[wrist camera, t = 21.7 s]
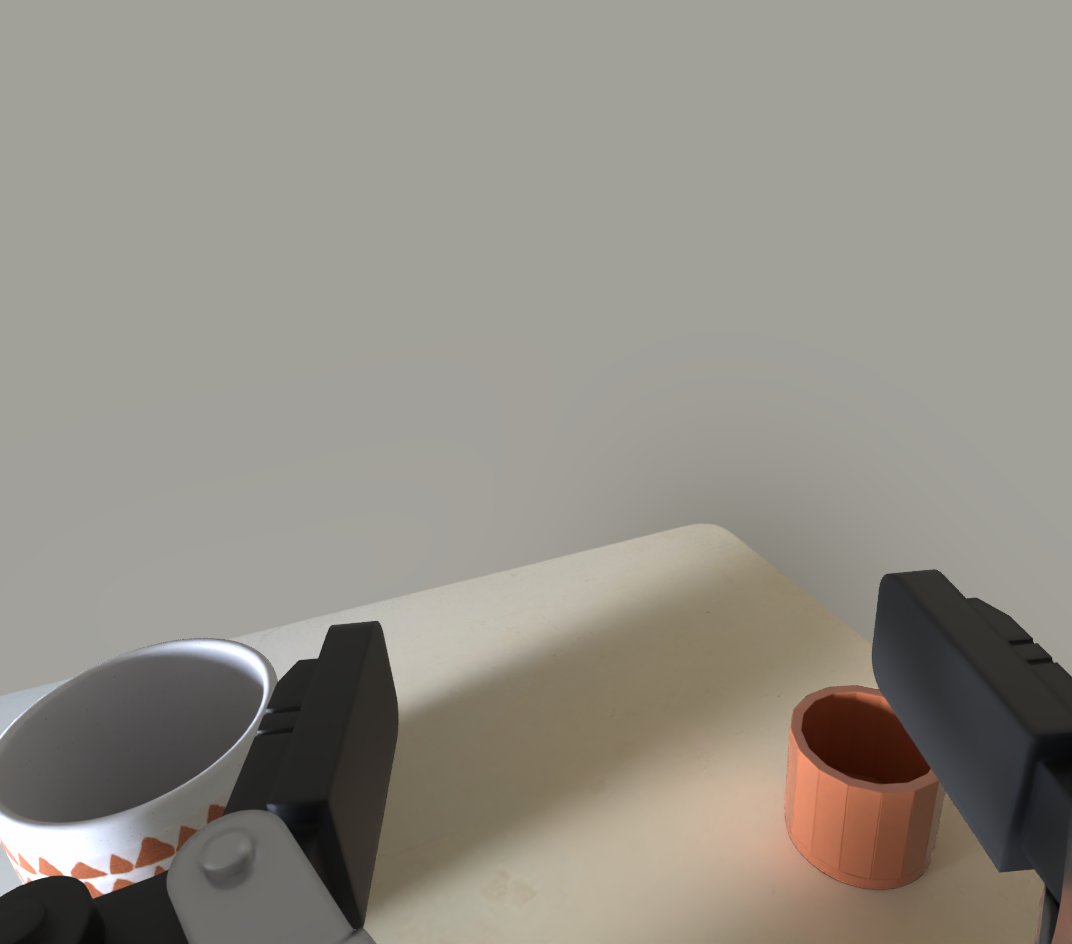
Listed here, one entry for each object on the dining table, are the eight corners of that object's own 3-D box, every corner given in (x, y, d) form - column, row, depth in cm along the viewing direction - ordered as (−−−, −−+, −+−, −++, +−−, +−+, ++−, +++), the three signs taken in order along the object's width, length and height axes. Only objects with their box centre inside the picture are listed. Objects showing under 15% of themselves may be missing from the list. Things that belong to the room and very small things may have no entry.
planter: (371, 831, 46) (330, 663, 41) (195, 1065, 35) (107, 875, 30) (208, 770, 52) (154, 616, 47) (12, 955, 41) (-88, 780, 36)
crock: (929, 793, 45) (945, 701, 43) (935, 909, 39) (954, 810, 36) (792, 762, 48) (798, 674, 46) (776, 865, 42) (782, 770, 39)
